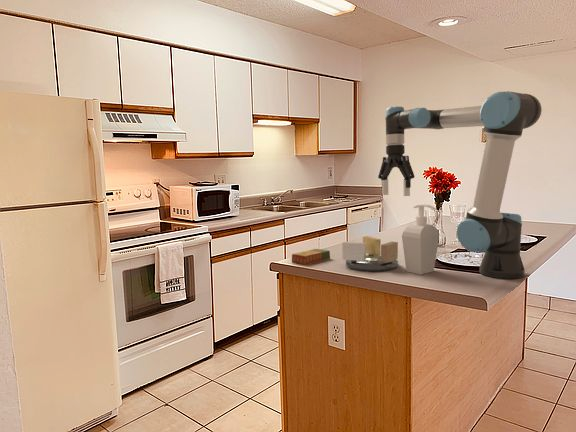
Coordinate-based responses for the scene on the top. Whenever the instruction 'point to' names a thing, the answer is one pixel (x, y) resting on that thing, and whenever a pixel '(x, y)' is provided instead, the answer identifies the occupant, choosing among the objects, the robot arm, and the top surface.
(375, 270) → the dark grey plate
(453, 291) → the top surface
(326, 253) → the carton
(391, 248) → the tan rectangular block
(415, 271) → the soap bottle
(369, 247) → the olive yellow block
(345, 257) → the knob
